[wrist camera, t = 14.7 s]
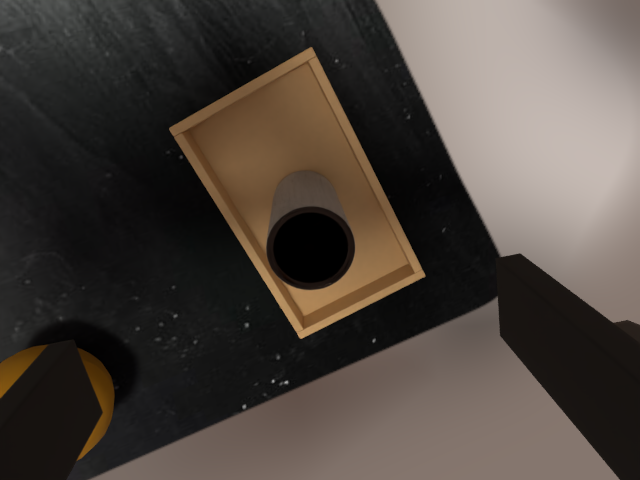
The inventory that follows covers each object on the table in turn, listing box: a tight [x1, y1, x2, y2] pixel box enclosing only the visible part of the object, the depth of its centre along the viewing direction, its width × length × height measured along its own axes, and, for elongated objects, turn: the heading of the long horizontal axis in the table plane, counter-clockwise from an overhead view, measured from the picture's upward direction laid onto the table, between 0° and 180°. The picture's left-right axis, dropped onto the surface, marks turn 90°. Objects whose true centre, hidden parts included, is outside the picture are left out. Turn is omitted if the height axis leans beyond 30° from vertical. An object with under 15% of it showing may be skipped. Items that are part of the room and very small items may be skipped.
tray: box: [169, 47, 425, 339], centre depth 33 cm, size 17×10×3 cm, turn 28°
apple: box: [0, 345, 115, 460], centre depth 33 cm, size 9×8×9 cm
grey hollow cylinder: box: [266, 170, 355, 290], centre depth 29 cm, size 4×4×10 cm
